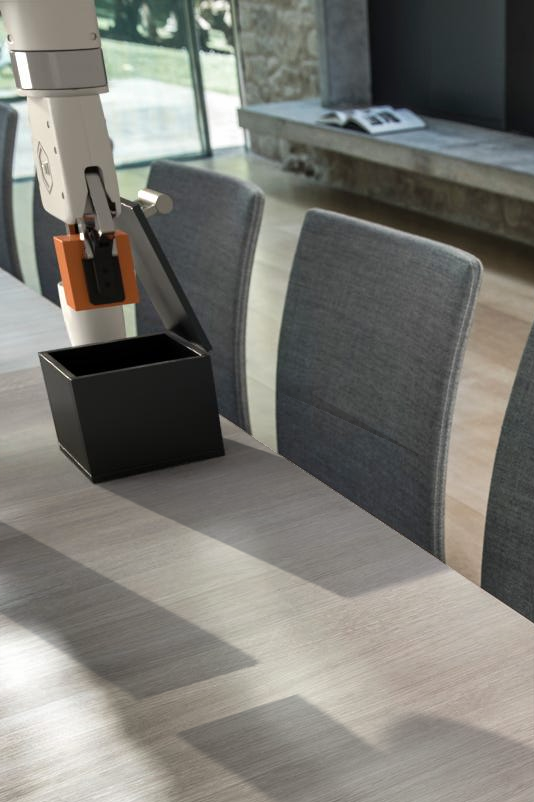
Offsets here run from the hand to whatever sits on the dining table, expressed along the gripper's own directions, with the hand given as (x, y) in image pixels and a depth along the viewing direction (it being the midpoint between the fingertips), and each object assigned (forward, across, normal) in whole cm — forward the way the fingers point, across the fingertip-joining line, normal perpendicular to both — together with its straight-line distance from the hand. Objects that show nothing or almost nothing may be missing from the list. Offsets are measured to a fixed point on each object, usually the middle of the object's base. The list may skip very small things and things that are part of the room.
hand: (101, 296), depth 107 cm
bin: (+19, -11, +4) cm, 22 cm away
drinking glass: (+19, -28, +6) cm, 34 cm away
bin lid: (+1, -11, +8) cm, 13 cm away
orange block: (+1, 0, 0) cm, 1 cm away
